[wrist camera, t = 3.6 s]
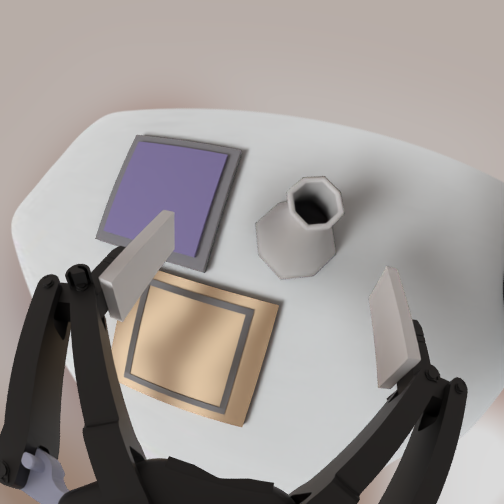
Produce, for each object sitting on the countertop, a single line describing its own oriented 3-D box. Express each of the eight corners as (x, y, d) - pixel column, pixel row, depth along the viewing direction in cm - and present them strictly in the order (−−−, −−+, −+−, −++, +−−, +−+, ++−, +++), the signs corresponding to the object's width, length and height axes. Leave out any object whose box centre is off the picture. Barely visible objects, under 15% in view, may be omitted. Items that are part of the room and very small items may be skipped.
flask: (242, 219, 25) (228, 171, 15) (313, 189, 25) (338, 131, 15) (275, 293, 24) (283, 292, 14) (347, 259, 24) (397, 236, 14)
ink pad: (241, 154, 26) (240, 147, 24) (204, 272, 24) (201, 271, 23) (139, 138, 27) (135, 133, 25) (99, 240, 25) (93, 237, 24)
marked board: (278, 305, 23) (279, 305, 23) (242, 424, 22) (242, 427, 21) (134, 262, 24) (131, 261, 24) (110, 374, 23) (106, 376, 22)
